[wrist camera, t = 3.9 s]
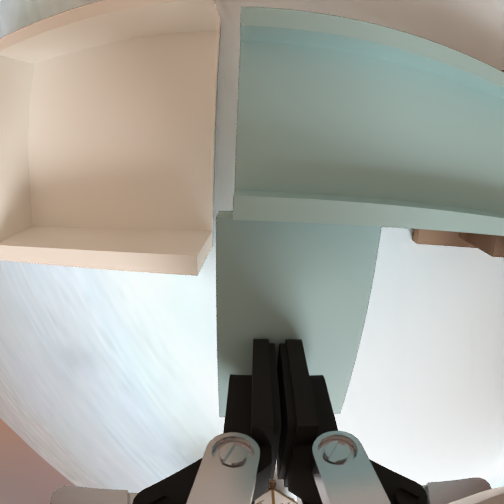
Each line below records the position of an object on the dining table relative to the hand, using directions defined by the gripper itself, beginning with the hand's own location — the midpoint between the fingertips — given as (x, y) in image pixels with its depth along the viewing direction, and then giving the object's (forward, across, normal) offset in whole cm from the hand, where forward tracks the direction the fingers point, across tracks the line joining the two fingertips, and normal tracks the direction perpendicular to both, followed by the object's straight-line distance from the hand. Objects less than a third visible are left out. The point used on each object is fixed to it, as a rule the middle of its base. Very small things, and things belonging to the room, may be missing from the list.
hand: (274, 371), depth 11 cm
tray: (+7, +9, -8) cm, 14 cm away
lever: (+2, -11, -5) cm, 12 cm away
